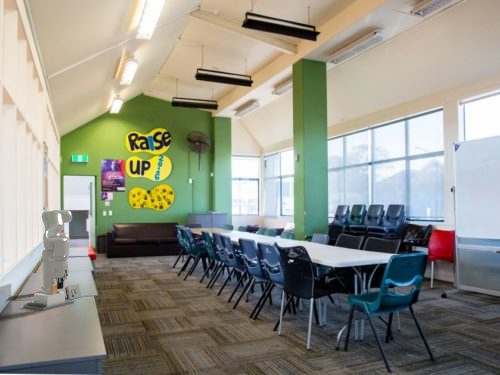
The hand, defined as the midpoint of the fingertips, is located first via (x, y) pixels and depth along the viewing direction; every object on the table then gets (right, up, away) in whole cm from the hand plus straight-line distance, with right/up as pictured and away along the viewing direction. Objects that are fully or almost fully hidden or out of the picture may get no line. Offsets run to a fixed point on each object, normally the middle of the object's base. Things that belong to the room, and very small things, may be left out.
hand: (60, 288), depth 248 cm
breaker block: (-9, -11, +4) cm, 15 cm away
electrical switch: (-2, -12, +22) cm, 25 cm away
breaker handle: (-5, -4, +2) cm, 7 cm away
